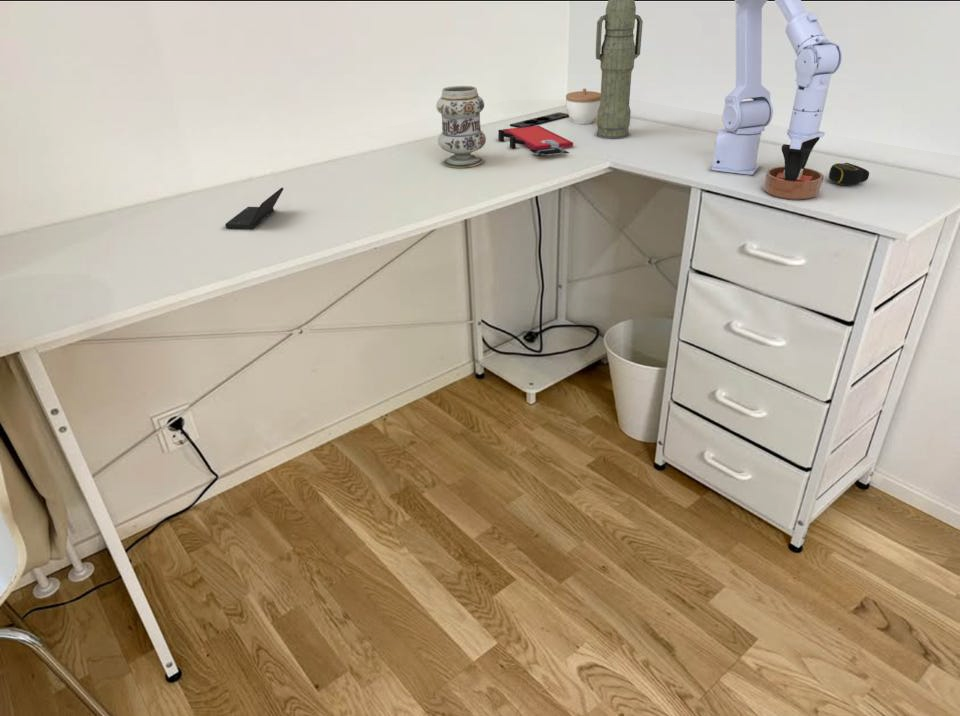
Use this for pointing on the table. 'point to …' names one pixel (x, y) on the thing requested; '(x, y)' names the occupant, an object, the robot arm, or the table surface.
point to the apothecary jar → (461, 125)
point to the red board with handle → (536, 140)
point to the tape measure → (847, 174)
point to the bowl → (793, 184)
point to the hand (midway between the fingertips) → (794, 175)
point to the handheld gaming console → (254, 214)
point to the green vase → (617, 66)
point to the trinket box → (583, 106)
